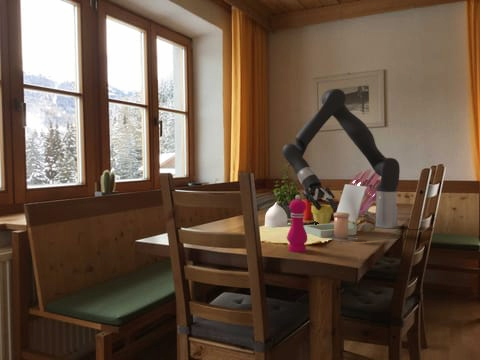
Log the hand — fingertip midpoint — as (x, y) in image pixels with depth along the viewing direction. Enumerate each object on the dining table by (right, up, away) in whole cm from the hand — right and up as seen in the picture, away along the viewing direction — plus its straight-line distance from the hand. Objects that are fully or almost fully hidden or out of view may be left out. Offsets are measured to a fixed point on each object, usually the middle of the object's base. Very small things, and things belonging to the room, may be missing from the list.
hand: (327, 208), depth 178 cm
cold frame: (+4, -12, +6) cm, 14 cm away
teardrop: (-19, -11, +28) cm, 35 cm away
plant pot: (+3, -11, +29) cm, 31 cm away
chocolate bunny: (+20, -12, +12) cm, 27 cm away
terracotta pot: (+4, -11, -7) cm, 14 cm away
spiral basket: (+35, -9, +63) cm, 72 cm away
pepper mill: (-16, -14, -24) cm, 32 cm away
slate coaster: (+5, -12, -7) cm, 15 cm away
